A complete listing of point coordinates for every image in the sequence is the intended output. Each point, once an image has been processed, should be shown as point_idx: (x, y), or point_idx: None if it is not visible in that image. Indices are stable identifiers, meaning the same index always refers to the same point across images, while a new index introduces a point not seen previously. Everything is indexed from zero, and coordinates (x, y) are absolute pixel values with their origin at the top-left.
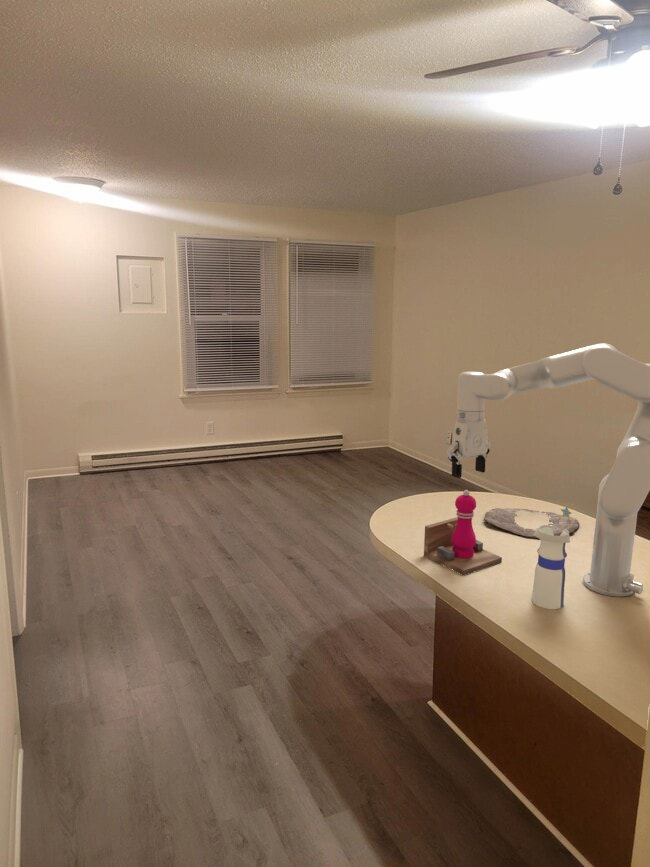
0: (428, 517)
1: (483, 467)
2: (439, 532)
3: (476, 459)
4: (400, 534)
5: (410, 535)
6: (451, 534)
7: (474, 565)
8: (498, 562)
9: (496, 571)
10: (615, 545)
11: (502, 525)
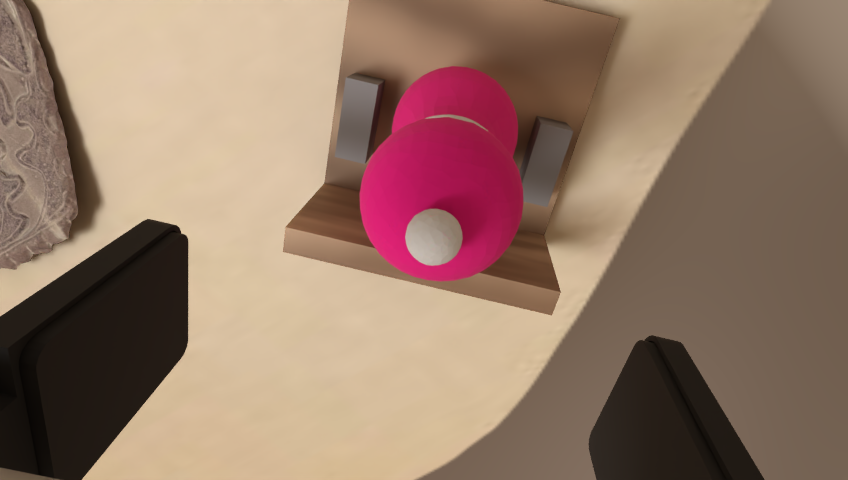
0: (213, 403)
1: (135, 264)
2: None
3: (78, 469)
4: (421, 396)
5: (402, 369)
6: None
7: (532, 10)
8: None
9: None
10: None
11: (42, 154)
